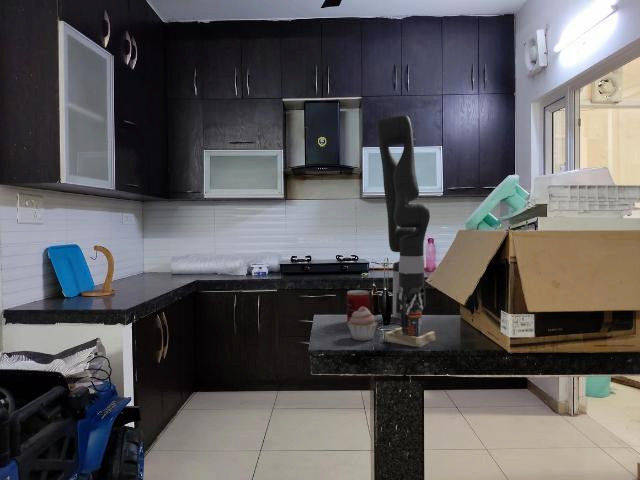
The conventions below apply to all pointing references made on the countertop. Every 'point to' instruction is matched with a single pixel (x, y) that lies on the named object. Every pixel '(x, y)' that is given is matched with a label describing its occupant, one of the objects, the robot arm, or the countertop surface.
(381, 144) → the robot arm
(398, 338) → the keeper
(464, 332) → the countertop surface
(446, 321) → the countertop surface
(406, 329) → the supplement bottle
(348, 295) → the canned food
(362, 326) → the cupcake
